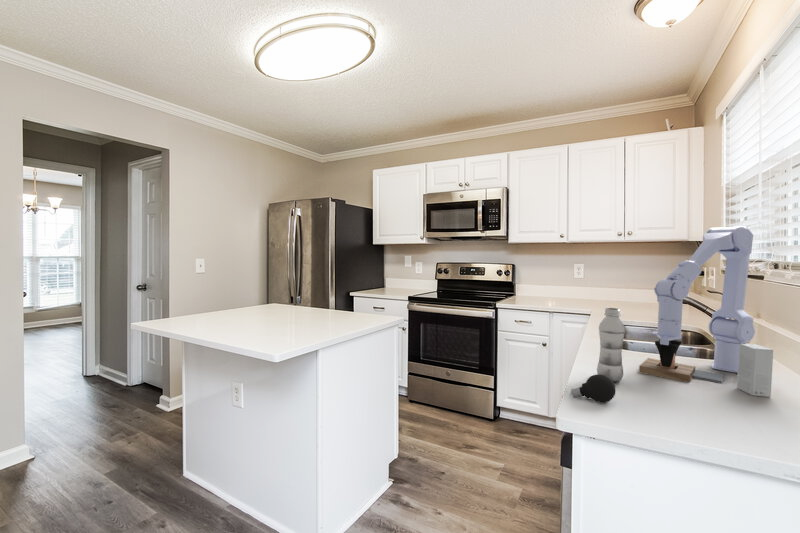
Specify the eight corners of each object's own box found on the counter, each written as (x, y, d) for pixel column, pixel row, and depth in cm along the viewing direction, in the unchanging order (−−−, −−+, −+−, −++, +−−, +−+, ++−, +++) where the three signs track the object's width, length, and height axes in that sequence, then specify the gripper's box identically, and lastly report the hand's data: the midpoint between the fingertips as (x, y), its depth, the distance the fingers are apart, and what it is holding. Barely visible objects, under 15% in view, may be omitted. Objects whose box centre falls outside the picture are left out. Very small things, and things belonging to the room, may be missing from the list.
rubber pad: (693, 371, 117) (693, 369, 117) (723, 376, 112) (723, 374, 112) (689, 377, 111) (690, 375, 111) (721, 383, 106) (721, 381, 106)
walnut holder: (647, 364, 123) (648, 357, 123) (694, 372, 115) (695, 366, 115) (639, 372, 114) (639, 365, 114) (689, 382, 106) (689, 375, 106)
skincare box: (771, 397, 96) (774, 350, 95) (751, 395, 97) (754, 348, 96) (754, 389, 102) (757, 344, 101) (736, 387, 103) (738, 343, 102)
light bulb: (565, 375, 97) (608, 367, 92) (574, 398, 97) (617, 390, 93) (565, 388, 91) (611, 380, 87) (575, 412, 91) (621, 405, 87)
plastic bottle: (625, 380, 106) (629, 308, 106) (619, 386, 102) (622, 311, 101) (600, 375, 111) (603, 306, 110) (593, 380, 106) (596, 308, 105)
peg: (661, 370, 117) (661, 350, 117) (675, 372, 115) (676, 352, 114) (658, 372, 114) (659, 352, 114) (673, 375, 112) (674, 355, 112)
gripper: (658, 315, 122) (656, 357, 122) (648, 320, 111) (646, 366, 112) (686, 318, 117) (683, 362, 118) (678, 324, 107) (675, 372, 107)
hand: (667, 364), depth 114 cm, fingers closed on peg, 4 cm apart
